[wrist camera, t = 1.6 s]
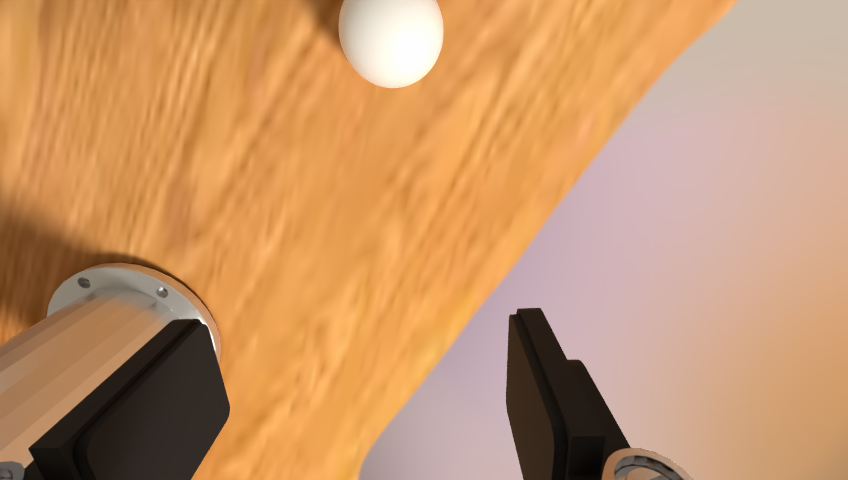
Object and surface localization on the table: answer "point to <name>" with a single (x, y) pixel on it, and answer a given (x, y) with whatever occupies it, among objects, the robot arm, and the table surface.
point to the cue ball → (391, 39)
